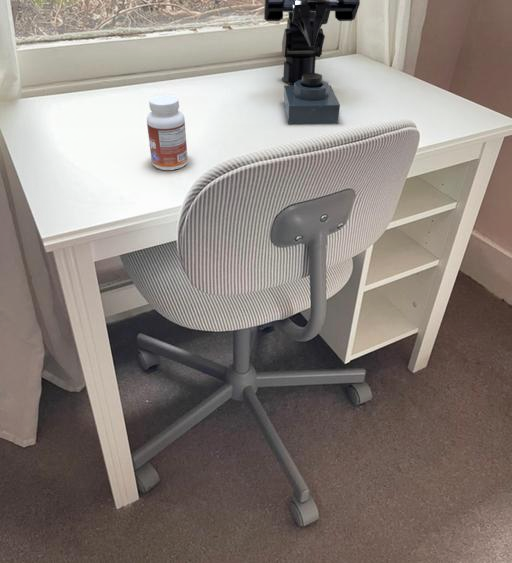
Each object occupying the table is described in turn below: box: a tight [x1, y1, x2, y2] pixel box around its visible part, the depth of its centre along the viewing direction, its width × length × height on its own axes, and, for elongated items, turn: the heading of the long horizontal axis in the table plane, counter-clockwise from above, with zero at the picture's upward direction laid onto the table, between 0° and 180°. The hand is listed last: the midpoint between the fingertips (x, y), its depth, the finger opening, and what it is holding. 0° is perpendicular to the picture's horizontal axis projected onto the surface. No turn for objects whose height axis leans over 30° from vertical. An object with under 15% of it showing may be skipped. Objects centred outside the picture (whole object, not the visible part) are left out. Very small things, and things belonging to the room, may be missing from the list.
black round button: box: [302, 72, 323, 88], centre depth 108 cm, size 4×4×2 cm
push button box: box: [283, 79, 341, 125], centre depth 110 cm, size 12×10×6 cm
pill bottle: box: [146, 94, 188, 171], centre depth 89 cm, size 6×6×11 cm
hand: (312, 46), depth 107 cm, fingers closed
